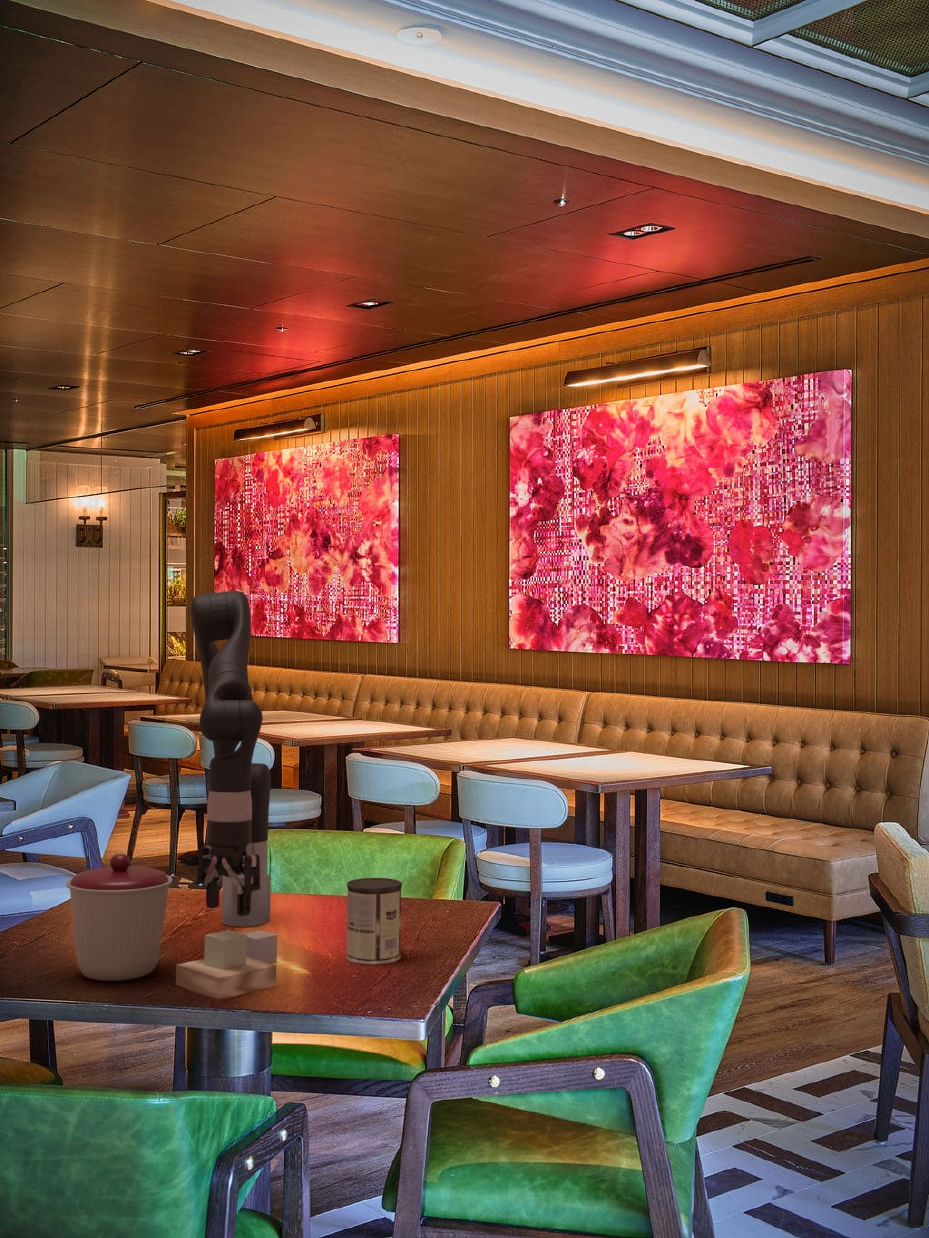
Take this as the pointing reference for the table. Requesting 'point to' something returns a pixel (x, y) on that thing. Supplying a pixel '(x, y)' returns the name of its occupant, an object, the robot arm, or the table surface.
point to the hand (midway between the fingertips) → (227, 911)
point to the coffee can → (373, 920)
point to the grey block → (262, 946)
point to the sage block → (225, 949)
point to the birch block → (225, 978)
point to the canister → (118, 919)
